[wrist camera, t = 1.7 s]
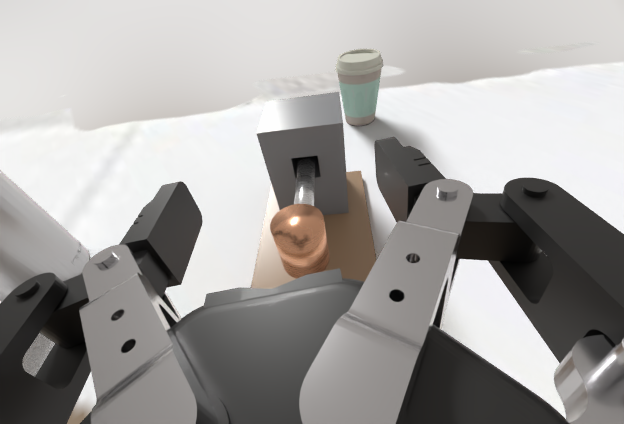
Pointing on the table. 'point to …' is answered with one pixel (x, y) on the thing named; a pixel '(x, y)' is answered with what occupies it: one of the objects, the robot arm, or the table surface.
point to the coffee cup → (359, 84)
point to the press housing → (328, 185)
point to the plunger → (301, 228)
